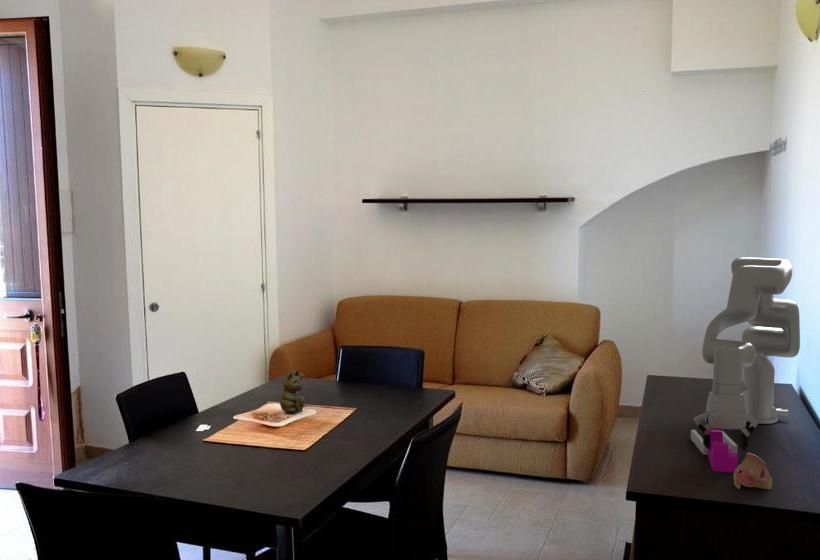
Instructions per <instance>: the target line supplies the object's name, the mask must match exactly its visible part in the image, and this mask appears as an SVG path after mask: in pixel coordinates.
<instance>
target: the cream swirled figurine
mask: <svg viewBox="0 0 820 560" xmlns="http://www.w3.org/2000/svg"><path fill="white" fill-rule="evenodd" d="M745 456H746V457H745V458H744V459H743V461H741V463H740V464H738V467H737V469H735V472H733V481H734V482H733V483H734V484H733V485H734V486H735V488H737V489H738V490H740V489H741V487H742V486H744V487H748V488H752V487H754V488H759V489H764V490H765V489H766V490H771V489H772V486H773V477H771V475H770V471H769V470H768V467H767V465H766V462H765V461H764V460H763V459H762V458H760V457H759V456H758V455H756V454H754V453H750V452H747V453H746V454H745Z"/></svg>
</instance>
